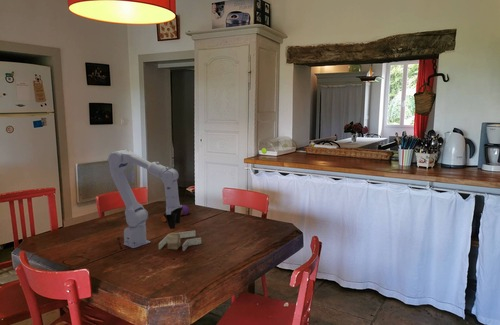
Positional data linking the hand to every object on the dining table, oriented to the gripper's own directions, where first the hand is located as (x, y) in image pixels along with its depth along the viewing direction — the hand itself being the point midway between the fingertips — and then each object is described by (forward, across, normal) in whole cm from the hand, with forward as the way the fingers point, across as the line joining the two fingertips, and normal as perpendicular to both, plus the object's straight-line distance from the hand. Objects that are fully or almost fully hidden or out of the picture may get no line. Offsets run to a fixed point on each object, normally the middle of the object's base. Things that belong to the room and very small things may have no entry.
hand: (174, 225), depth 163 cm
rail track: (+10, +4, -1) cm, 11 cm away
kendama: (+9, +44, +14) cm, 47 cm away
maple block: (+10, -1, +1) cm, 10 cm away
